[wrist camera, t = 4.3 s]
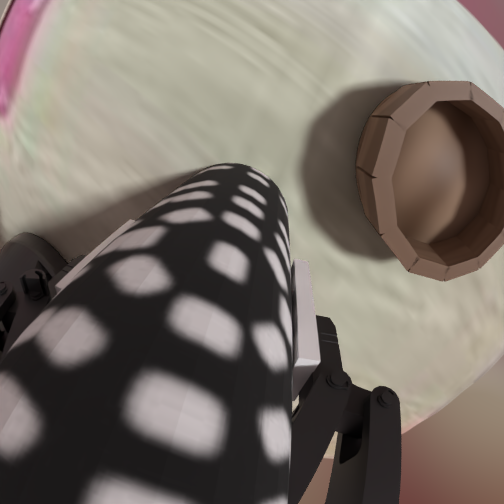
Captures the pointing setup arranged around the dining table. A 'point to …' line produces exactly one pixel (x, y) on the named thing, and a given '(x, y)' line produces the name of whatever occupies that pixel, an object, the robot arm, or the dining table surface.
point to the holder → (435, 176)
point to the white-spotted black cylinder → (162, 360)
